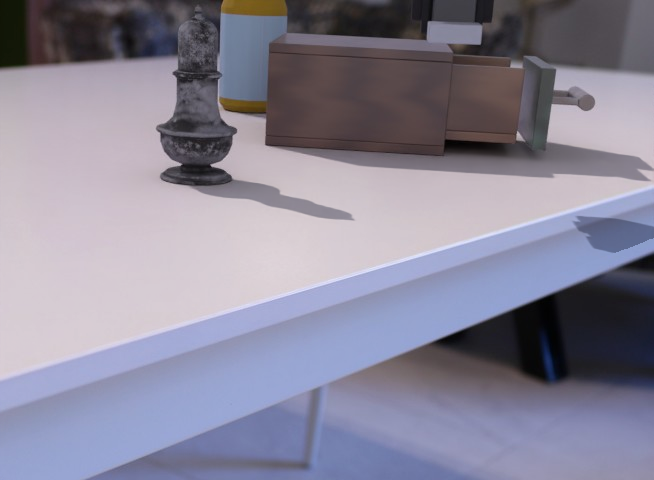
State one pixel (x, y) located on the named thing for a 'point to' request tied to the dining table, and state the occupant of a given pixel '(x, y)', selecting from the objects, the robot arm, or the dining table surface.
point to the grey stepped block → (454, 23)
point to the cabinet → (358, 93)
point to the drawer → (505, 100)
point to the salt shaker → (196, 110)
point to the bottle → (248, 51)
